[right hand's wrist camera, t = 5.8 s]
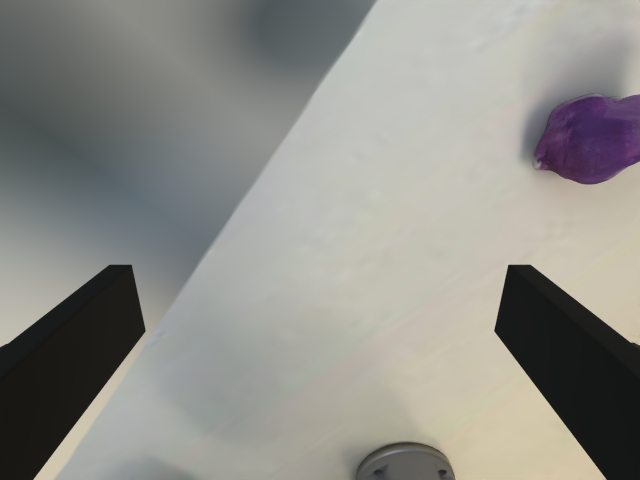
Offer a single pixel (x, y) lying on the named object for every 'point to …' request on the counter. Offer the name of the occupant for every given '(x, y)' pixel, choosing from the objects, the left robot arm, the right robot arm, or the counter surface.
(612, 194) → the counter surface
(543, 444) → the counter surface
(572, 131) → the figurine
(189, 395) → the counter surface
